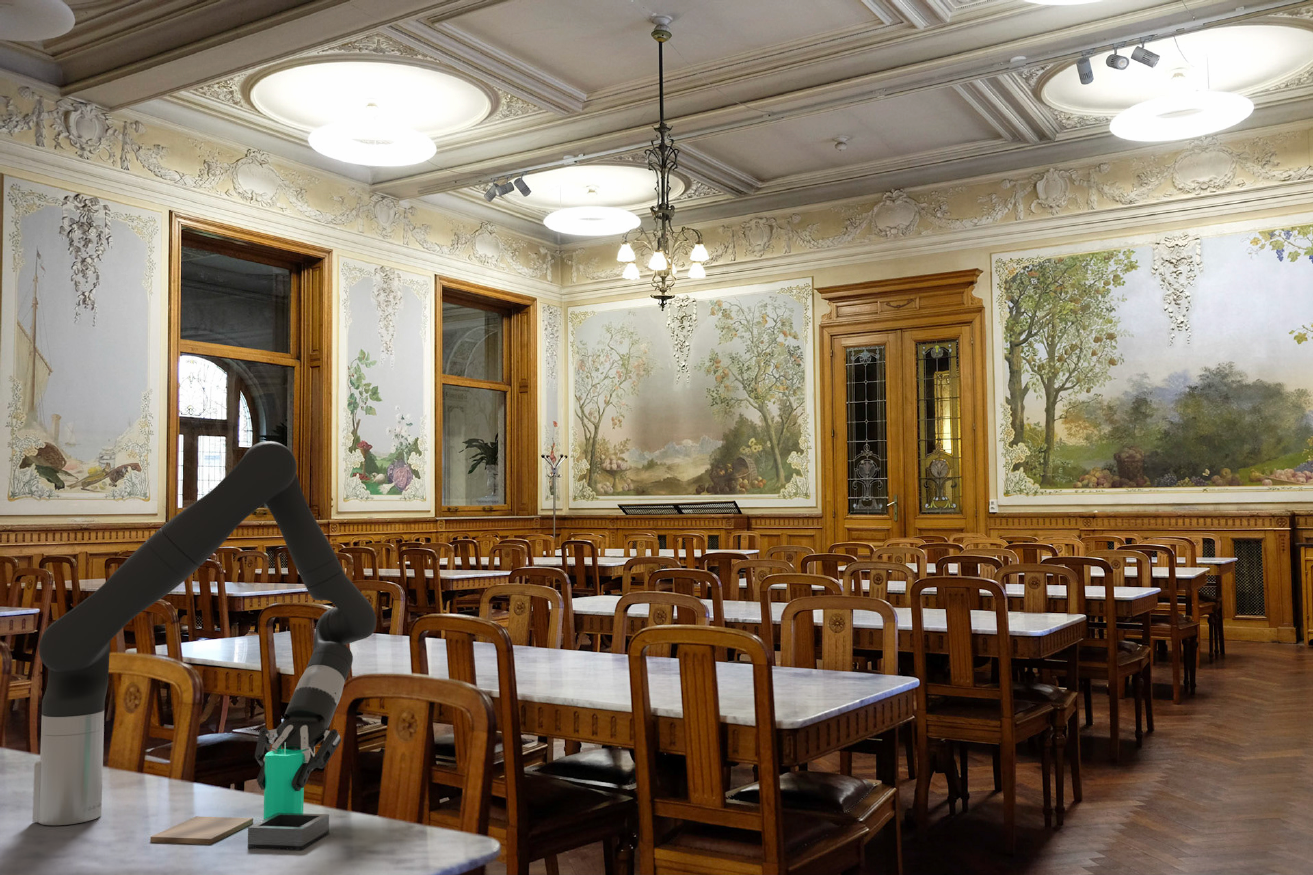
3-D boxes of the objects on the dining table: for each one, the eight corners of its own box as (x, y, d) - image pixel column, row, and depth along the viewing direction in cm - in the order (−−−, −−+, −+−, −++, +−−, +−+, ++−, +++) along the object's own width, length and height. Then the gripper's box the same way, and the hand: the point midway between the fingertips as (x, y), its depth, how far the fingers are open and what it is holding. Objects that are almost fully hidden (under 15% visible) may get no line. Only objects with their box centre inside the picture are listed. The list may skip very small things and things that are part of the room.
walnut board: (150, 841, 166) (150, 836, 167) (196, 821, 178) (196, 816, 178) (211, 844, 165) (211, 838, 165) (253, 823, 177) (253, 817, 177)
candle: (290, 825, 172) (292, 746, 173) (255, 823, 173) (257, 745, 174) (310, 815, 177) (311, 739, 178) (276, 813, 179) (278, 738, 180)
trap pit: (247, 848, 162) (248, 827, 163) (277, 832, 171) (277, 812, 171) (301, 850, 161) (302, 829, 161) (328, 834, 170) (329, 814, 170)
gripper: (268, 684, 185) (227, 772, 172) (348, 685, 183) (313, 775, 170) (283, 711, 190) (245, 799, 177) (362, 712, 188) (328, 802, 175)
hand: (278, 787), depth 174 cm, fingers closed on candle, 5 cm apart
